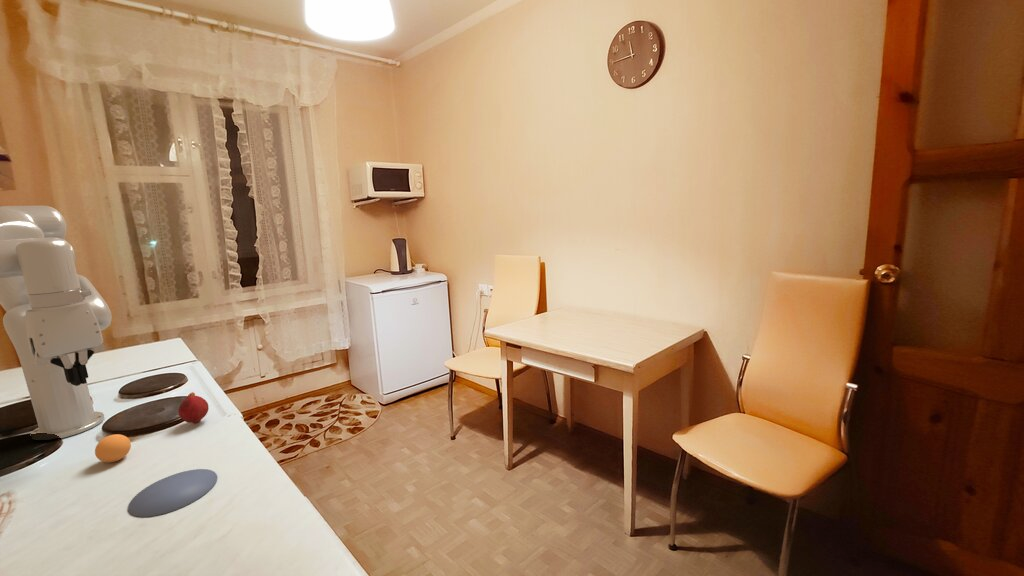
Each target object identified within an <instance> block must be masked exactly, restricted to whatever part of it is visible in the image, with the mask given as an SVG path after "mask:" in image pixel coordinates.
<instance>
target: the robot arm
mask: <svg viewBox="0 0 1024 576" xmlns="http://www.w3.org/2000/svg"><path fill="white" fill-rule="evenodd" d="M67 227H68V226H67V222H66V220H65V217H64V215H62V213H61V212H60V211H59V210H57V209H56V208H54V207H52V206H49V205H3V206H2V205H1V206H0V306H1V307H2V308H3V310H4V311H5V314H4V315H3V318H2V325H3V327H4V331H5V332H6V334H7V336H8V338H9V340H10V341H11V343H12V345H13V347H14V350H15V351H16V352H15V353H16V354H17V358H18V360H19V362H20V366H21V369H22V373H23V376H24V379H25V384H26V387H27V391H28V394H29V397H30V401H31V405H32V408H33V411H34V415H35V418H36V423H37V426H38V427H37V428H35V429H33V431H31V433H30V435H31V434H36V433H47V434H55V435H57V436H59V437H60V438H61V439H64V438H67V437H72V436H74V435H77V434H81V433H83V432H86V431H88V430H90V429H92V428H94V427H97V426H98V425H100V424H101V423H102V422H103V421H104V420H105V414H104V412H101V411H95V410H94V406H93V403H92V398H91V393H90V391H89V386H88V382H87V379H88V378H89V374H88V369H87V365H88V362H89V360H90V359H91V358H92V356H93V355H94V354H96V353H97V354H98V353H99V352H101V351H103V350H105V349H106V346H105V344H104V337H103V333H102V331H104V330H106V329H107V328H109V327H110V325H111V323H112V320H113V316H112V315H113V314H112V311H111V309H110V307H109V305H108V303H107V302H106V300H105V298H103V296H102V295H101V294H100V293H99V292H98V290H97V289H96V288H95V286H94V284H93V283H91V281H90V280H89V279H88V278H87V277H86V276H84V275H81V274H78V272H77V268H76V263H75V262H76V253H75V250H74V248H73V246H72V244H70V243H69V242H68V241H67V240H66V236H67V230H68V228H67Z"/></svg>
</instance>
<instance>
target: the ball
mask: <svg viewBox="0 0 1024 576" xmlns="http://www.w3.org/2000/svg"><path fill="white" fill-rule="evenodd" d="M131 447H132V443H131V440H130V438H128V437H127V436H126V435H123V434H119V433H118V434H117V433H116V434H110V435H108V436H105V437H104V438H101V440H100V441H99V442H98V443H97V444H96V446H95V450H94V455H95V457H96V458H97V460H99V461H101V462H104V463H115V462H118V461H119V460H122V459H124V458H125V457H126V456H127V455H128V454H129V452H130V451H131Z"/></svg>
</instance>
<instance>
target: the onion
mask: <svg viewBox="0 0 1024 576" xmlns="http://www.w3.org/2000/svg"><path fill="white" fill-rule="evenodd" d="M195 394H196V393H195V392H194V391H192V392H190V393H189V394H188V395H187V397H185V399H183V401H181V403H180V405H179V406H178V412H177V413H178V416H179V418H180V419H182V421H184V422H186V423H190V424H195V425H197V424H200V422H201V420H203V419H204V418H205V417H206V415H207V414H208V412H209V409H210V407H209V404H208V401H207V400H206V399H205V398H204V397H201V396H198V395H195Z"/></svg>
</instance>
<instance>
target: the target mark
mask: <svg viewBox="0 0 1024 576" xmlns="http://www.w3.org/2000/svg"><path fill="white" fill-rule="evenodd" d="M217 483H218V475H217V473H216V472H215V471H214V470H212V469H205V468H198V469H197V468H196V469H189V470H185V471H184V470H183V471H181V472H178V473H174V474H171V475H169V476H166V477H164V478H162V479H159V480H157V481H155V482H153V483H151V484H150V485H148V486H146V487H145V488H143V489H142V490H141V491H139V492H138V493H137V494H136V495H135V496H134V497H132V499H131V500H130V501H129V503H128V512H129V514H130V515H131V516H134V517H139V518H151V517H156V516H160V515H166V514H168V513H171V512H174V511H177V510H180V509H182V508H185V507H186V506H190V504H192V503H195V502H196V501H197V500H199V499H201V498H202V497H204V496H205V495H206V494H207V493H209V492H210V491H211V490H212V489H213V488H214V487H215V486H216V484H217Z"/></svg>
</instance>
